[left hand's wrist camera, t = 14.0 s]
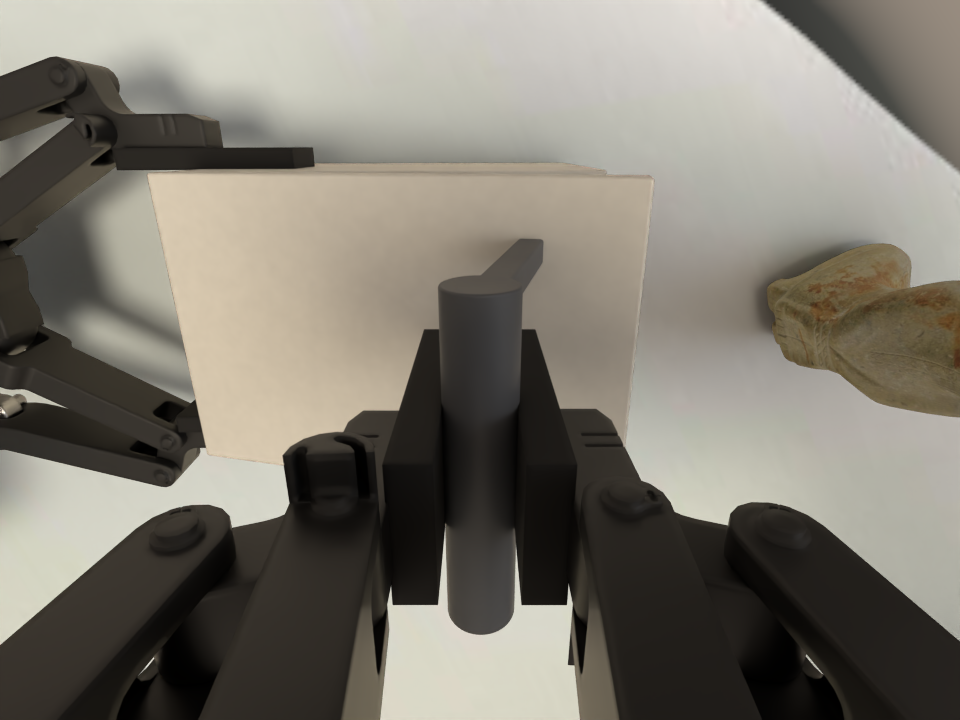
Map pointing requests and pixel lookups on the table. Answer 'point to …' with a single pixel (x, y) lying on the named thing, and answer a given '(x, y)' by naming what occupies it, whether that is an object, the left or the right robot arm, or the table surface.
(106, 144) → the right robot arm
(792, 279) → the sculpture
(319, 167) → the chest
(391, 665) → the table surface
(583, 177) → the lid
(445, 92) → the table surface
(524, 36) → the table surface
